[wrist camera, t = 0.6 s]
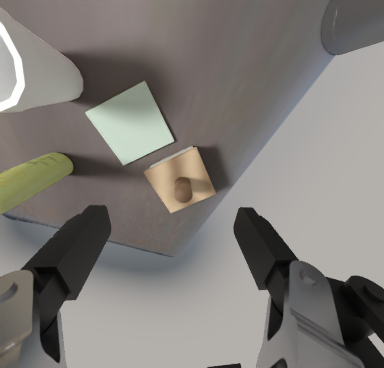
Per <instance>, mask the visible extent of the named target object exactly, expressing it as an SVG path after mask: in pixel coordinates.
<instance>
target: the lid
mask: <svg viewBox="0 0 384 368" xmlns="http://www.w3.org/2000/svg"><path fill="white" fill-rule="evenodd" d="M144 174H145V176H146V177H147V179H148V180H149V182H150V183H151V184H152V186H153V187H154V189H155V190H156V192H157V193H158V195H159V196H160V198H161V199H162V201H163V202H164V204H165V205H166V207H167V208H168V210H169V211H170V213H172V212H175V211H177V210H179V209H182V208H184V207H186V206H189V205H191V204H193V203H196V202H198V201H201V200H203V199H205V198H208V197H210V196H212V195H215V194H216V192H215V190H214V188H213V185H212V183H211V181H210V178H209V176H208V173H207V171H206V169H205V166H204V164H203V162H202V159H201V157H200V154H199V152H198V150H197V148H196V147H194V148H192V149H190V150H188V151H186V152H184V153H182V154H179V155H177V156H175V157H173V158H171V159H169V160H167V161H164V162H162V163H160V164H158V165H156V166H154V167H152V168H149V169H147V170H145V171H144Z"/></svg>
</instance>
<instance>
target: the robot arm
mask: <svg viewBox="0 0 384 368" xmlns="http://www.w3.org/2000/svg"><path fill="white" fill-rule="evenodd" d="M322 41H323V45H324V47H325V49H326V50H327V51H328V52H329V53H331V54H333V55H340V54H344V53H347V52H351V51H354V50H356V49H360V48H363V47H366V46H370V45H373V44H376V43H379V42H382V41H384V0H331V2H330V4H329V6H328V8H327V11H326V13H325V16H324V20H323V24H322ZM110 233H111V223H110V219H109V215H108V211H107V207H106V206H105V205H89V206H88V207H87V208H86V209H85V210H84V211H83V212H82V213H81V214H78V215H76V216H74V217H73V218H71V219H70V220H68V221H67V222H66V223H65V224H64V225H63V226H62V227H61V228H60V230H59V231H57V232H56V233H55V234H54V235H53V238H50V240H49V241H48V242H47V243H46V244H45V245H44V246H43V247H42V248H41V249H40V250H39V251H38V252H37V253H36V254H35V255H34V256H33V257H32V258H31V259H30V260H29V261H28V262H27V263H26V265H25V266H24V267H23V268H22V269H21V270H18V271H14V272H10V273H8V274H5V275H3V276H1V277H0V368H67V366H66V361H65V351H64V341H63V332H62V322H61V313H60V310H59V309H60V308H61V306H62V304H63V302H64V301H66V300H76V299H77V297H78V295H79V293H80V291H81V289H82V287H83V285H84V284H85V282H86V280H87V278H88V276H89V274H90V272H91V270H92V268H93V266H94V264H95V262H96V261H97V259H98V257H99V255H100V253H101V251H102V249H103V247H104V245H105V244H106V242H107V240H108V238H109V236H110ZM234 235H235V237H236V239H237V241H238V244H239V246H240V248H241V250H242V253H243V255H244V257H245V260H246V262H247V264H248V266H249V269H250V271H251V273H252V275H253V278H254V280H255V282H256V284H257V287H258V289H259V290H268V291H269V293H270V296H269V299H268V306H267V314H266V322H265V330H264V338H263V344H262V347H261V350H260V353H259V356H258V360H257V365H256V368H384V357H383V356H382V355H381V353H380V352H379V351H378V350H377V348H376V347H375V346H374V345H373V343H372V342H371V341H370V340H369V338H368V336H370V335H372V334H373V333H376V334H377V336H378V337H379V338H380V339H381V340H382V341H383V343H384V289H383V288H382V287H380V286H379V285H377V284H376V283H374V282H372V281H370V280H368V279H366V278H364V277H361V276H351V277H350V278H349V279H348V280H347V281H346V282H343V281H339V280H336V279H332V278H328V277H325V276H324V275H323V274H322V273H321V272H320V271H319V270H318V269H317V268H315V267H314V266H312V265H310V264H308V263H306V262H303V261H299V259H298V258H297V257H296V256H295V255H294V253H293V252H292V251H291V250H290V248H289V247H288V246H287V244H286V243H285V242H284V241H283V239H282V238H281V237H280V236H279V235H278V233H277V232H276V230H274V228H273V227H272V225H271V224H270V223H269V222H268V221H267V220H266V219H265V218H263V217H262V216H259V215H258V214H257V213H256V211H255V210H254V209H253V208H250V207H249V208H247V207H246V208H245V207H240V208H239V209H238V213H237V216H236V220H235V223H234ZM208 368H241V364H240V363H239V364H230V365H222V366H214V367H208Z"/></svg>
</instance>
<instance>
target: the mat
mask: <svg viewBox="0 0 384 368" xmlns="http://www.w3.org/2000/svg"><path fill="white" fill-rule="evenodd" d="M85 113H86V115H87V116H88V117H89V119H90V120H91V122H92V123H93V124H94V126H95V127H96V128H97V130H98V131H99V133H100V134H101V135H102V137H103V138H104V139H105V141H106V142H107V143H108V145H109V146H110V148H111V149H112V150H113V152H114V153H115V154H116V156H117V157H118V159H119V160H120V161H121V163H122V164H123V165H126V164H128V163H130V162H132V161H134V160H136V159H138V158H140V157H142V156H145V155H147V154H149V153H151V152H153V151H155V150H157V149H159V148H161V147H163V146H165V145H167V144H170V143H172V142H174V139H173V137H172V135H171V133H170V131H169V129H168V127H167V125H166V123H165V120H164V118H163V116H162V114H161V112H160V110H159V108H158V106H157V104H156V102H155V100H154V98H153V96H152V94H151V92H150V90H149V88H148V86H147V84H146V82H145V81H143V82H141V83H139V84H137V85H136V86H134V87H132V88H130V89H128V90H126V91H124V92H123V93H121V94H119V95H117V96H115V97H113V98H111V99H110V100H108V101H106V102H104V103H102V104H100V105H98V106H96V107H95V108H93V109H91V110H89V111H87V112H85Z"/></svg>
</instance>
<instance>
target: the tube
mask: <svg viewBox="0 0 384 368" xmlns="http://www.w3.org/2000/svg"><path fill="white" fill-rule="evenodd" d="M72 171H73V164H72V162H71V160H70V159H69V158H68V157H67V156H65V155H63V154H61V153H49V154H47V155H44V156H41V157H39V158H36V159H34V160H31V161H29V162H26V163H24V164H21V165H19V166H16V167H14V168H11V169H9V170H6V171H4V172H1V173H0V215H1V214H3V213H5V212H6V211H8V210H10V209H11V208H13V207H15V206H17V205H18V204H20V203H22V202H24V201H25V200H27V199H29V198H30V197H32V196H34V195H35V194H37V193H39V192H41V191H42V190H44V189H46V188H47V187H49V186H51V185H52V184H54V183H56V182H57V181H59V180H61V179H62V178H64V177H66V176H67V175H69V174H70V173H71V172H72Z"/></svg>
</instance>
